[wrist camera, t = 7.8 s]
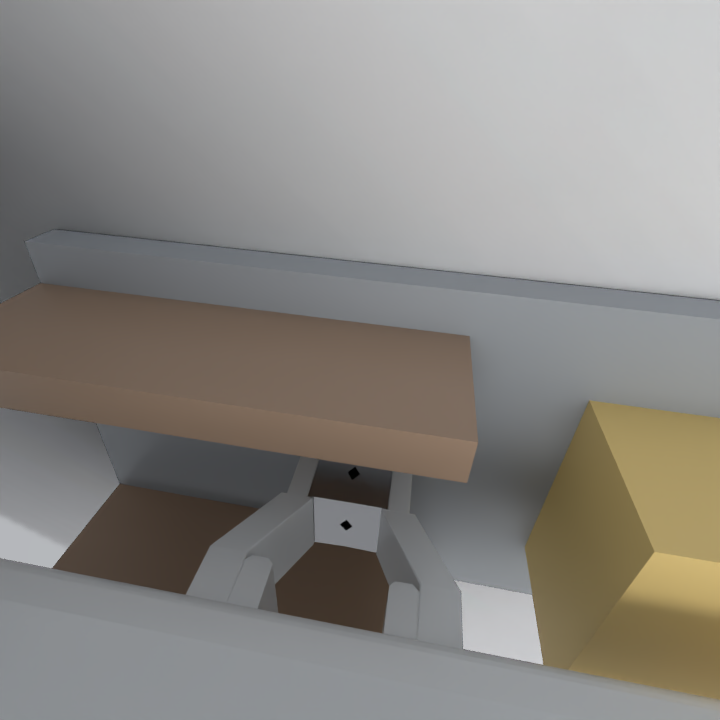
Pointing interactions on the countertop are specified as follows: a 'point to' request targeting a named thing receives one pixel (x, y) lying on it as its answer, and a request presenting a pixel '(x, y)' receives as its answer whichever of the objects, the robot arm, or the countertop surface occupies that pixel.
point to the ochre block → (633, 551)
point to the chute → (329, 397)
